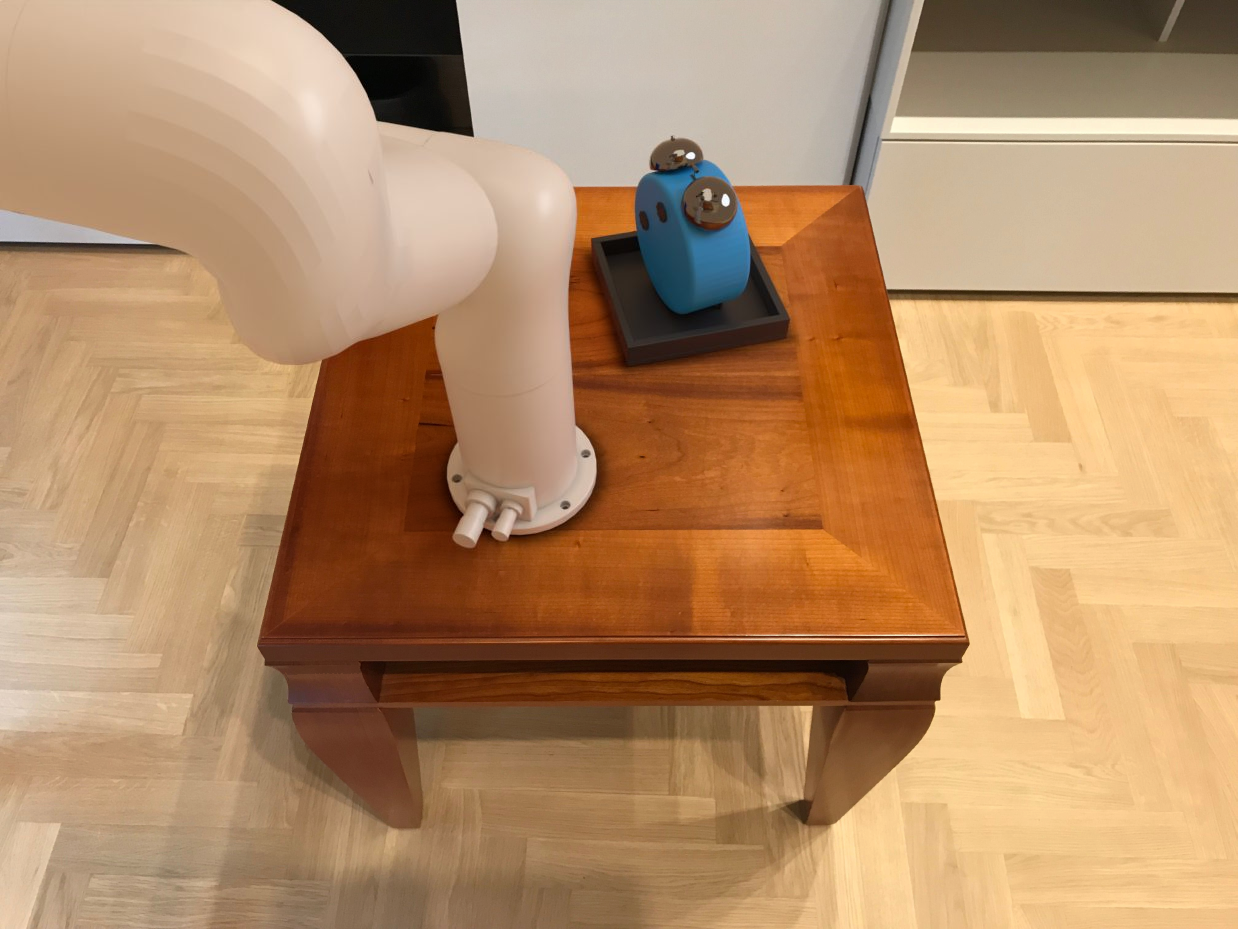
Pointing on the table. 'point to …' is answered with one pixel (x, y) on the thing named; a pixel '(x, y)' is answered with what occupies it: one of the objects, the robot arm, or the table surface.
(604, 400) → the table surface
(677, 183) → the alarm clock
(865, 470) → the table surface
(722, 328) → the tray
